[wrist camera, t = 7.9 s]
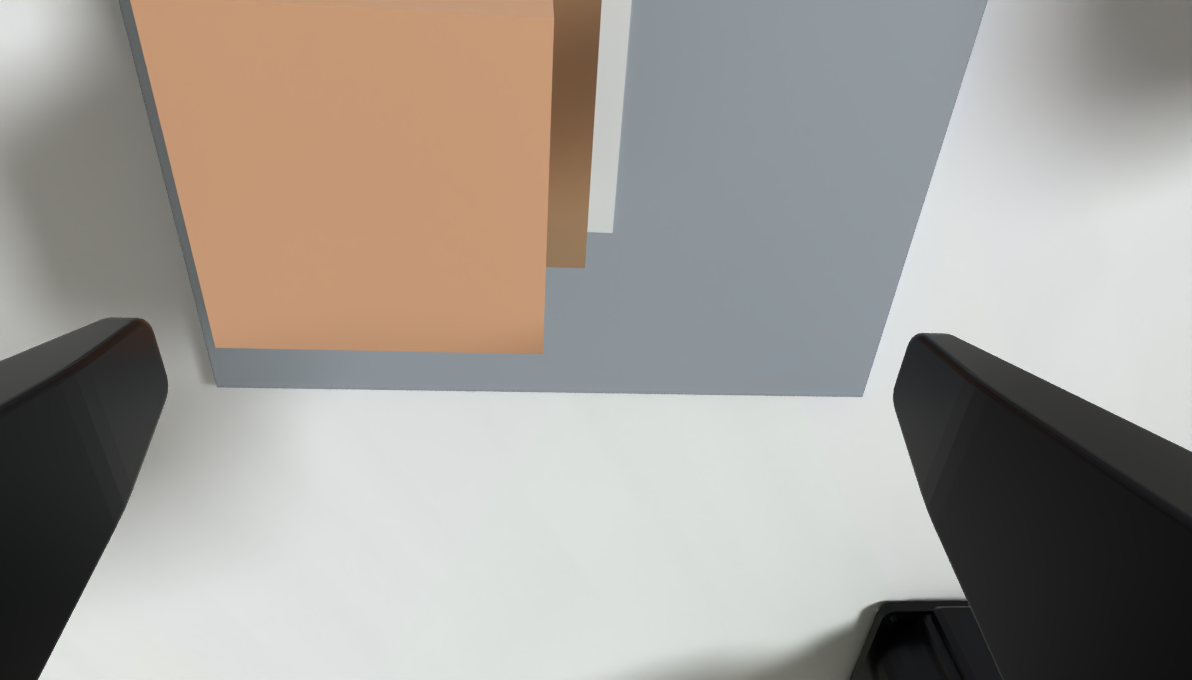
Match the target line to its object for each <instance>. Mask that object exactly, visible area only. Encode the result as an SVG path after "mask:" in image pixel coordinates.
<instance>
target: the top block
mask: <svg viewBox="0 0 1192 680" xmlns="http://www.w3.org/2000/svg"><path fill="white" fill-rule="evenodd" d="M130 2H131V6H132V10H133V14H134V18H135V22H136V26H137V30H138V34H139V38H140V42H141V46H142V51H143V55H144V59H145V63H146V67H147V71H148V75H149V79H150V83H151V87H152V91H153V95H154V99H155V103H156V107H157V112H158V116H159V120H160V124H161V128H162V132H163V136H164V140H165V144H166V148H167V152H168V156H169V160H170V164H171V168H172V173H173V177H174V181H175V185H176V189H177V193H178V197H179V201H180V205H181V209H182V213H183V217H184V221H185V225H186V230H187V234H188V238H189V242H190V246H191V250H192V254H193V258H194V262H195V266H196V270H197V274H198V278H199V282H200V286H201V291H202V295H203V299H204V303H205V307H206V311H207V315H208V319H209V323H210V327H211V331H212V335H213V339H214V343H215V347H216V348H252V349H301V350H351V351H401V352H451V353H501V354H543V343H544V312H545V282H546V251H547V221H548V191H549V160H550V130H551V99H552V69H553V39H554V9H553V0H130Z"/></svg>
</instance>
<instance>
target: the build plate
mask: <svg viewBox="0 0 1192 680" xmlns="http://www.w3.org/2000/svg"><path fill="white" fill-rule="evenodd" d="M987 1H988V0H602V5H601V21H600V37H599V53H598V69H597V85H596V101H595V117H594V133H593V149H592V164H591V180H590V196H589V212H588V228H587V244H586V260H585V268H558V267H546V282H545V312H544V343H543V354H501V353H451V352H401V351H351V350H301V349H252V348H216V347H215V343H214V339H213V335H212V331H211V327H210V323H209V319H208V315H207V311H206V307H205V303H204V299H203V295H202V291H201V286H200V282H199V278H198V274H197V270H196V266H195V262H194V258H193V254H192V250H191V246H190V242H189V238H188V234H187V230H186V225H185V221H184V217H183V213H182V209H181V205H180V201H179V197H178V193H177V189H176V185H175V181H174V177H173V173H172V168H171V164H170V160H169V156H168V152H167V148H166V144H165V140H164V136H163V132H162V128H161V124H160V120H159V116H158V112H157V107H156V103H155V99H154V95H153V91H152V87H151V83H150V79H149V75H148V71H147V67H146V63H145V59H144V55H143V51H142V46H141V42H140V38H139V34H138V30H137V26H136V22H135V18H134V14H133V10H132V6H131V2H130V0H119V3H120V7H121V11H122V15H123V19H124V23H125V27H126V31H127V35H128V39H129V43H130V47H131V51H132V55H133V58H134V62H135V66H136V70H137V74H138V78H139V82H140V86H141V90H142V94H143V98H144V102H145V106H146V110H147V113H148V117H149V121H150V125H151V129H152V133H153V137H154V141H155V145H156V149H157V153H158V157H159V161H160V165H161V169H162V172H163V176H164V180H165V184H166V188H167V192H168V196H169V200H170V204H171V208H172V212H173V216H174V220H175V224H176V228H177V231H178V235H179V239H180V243H181V247H182V251H183V255H184V259H185V263H186V267H187V271H188V275H189V279H190V283H191V287H192V290H193V294H194V298H195V302H196V306H197V310H198V314H199V318H200V322H201V326H202V330H203V334H204V338H205V342H206V346H207V349H208V353H209V357H210V361H211V365H212V369H213V373H214V377H215V381H216V385H217V387H237V388H303V389H369V390H435V391H501V392H568V393H634V394H700V395H766V396H832V397H862V396H863V393H864V390H865V387H866V384H867V380H868V377H869V374H870V371H871V368H872V365H873V361H874V358H875V355H876V352H877V349H878V346H879V342H880V339H881V336H882V333H883V330H884V327H885V324H886V320H887V317H888V314H889V311H890V308H891V305H892V301H893V298H894V295H895V292H896V289H897V286H898V282H899V279H900V276H901V273H902V270H903V267H904V263H905V260H906V257H907V254H908V251H909V248H910V244H911V241H912V238H913V235H914V232H915V229H916V225H917V222H918V219H919V216H920V213H921V210H922V207H923V203H924V200H925V197H926V194H927V191H928V188H929V184H930V181H931V178H932V175H933V172H934V169H935V165H936V162H937V159H938V156H939V153H940V150H941V146H942V143H943V140H944V137H945V134H946V131H947V127H948V124H949V121H950V118H951V115H952V112H953V108H954V105H955V102H956V99H957V96H958V93H959V90H960V86H961V83H962V80H963V77H964V74H965V71H966V67H967V64H968V61H969V58H970V55H971V52H972V48H973V45H974V42H975V39H976V36H977V33H978V29H979V26H980V23H981V20H982V17H983V14H984V10H985V7H986V4H987Z"/></svg>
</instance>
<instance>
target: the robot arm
mask: <svg viewBox="0 0 1192 680" xmlns="http://www.w3.org/2000/svg"><path fill="white" fill-rule="evenodd" d="M167 393H168V380H167V375H166V372H165V368H164V365H163V362H162V358H161V355H160V352H159V348H158V345H157V342H156V338H155V335H154V332H153V330H152V327H151V326H150V324H149V323H148V322H146V321H145V320H143V319H140V318H105V319H102V320H99V321H97V322H94V323H92V324H89V325H87V326H85V327H82V328H80V329H77V330H75V331H72V332H70V333H68V334H65V335H63V336H60V337H58V338H55V339H53V340H51V341H48V342H46V343H43V344H41V345H38V346H36V347H34V348H31V349H29V350H26V351H24V352H21V353H19V354H17V355H14V356H12V357H9V358H7V359H4V360H2V361H0V680H38V678H39V677H40V675H41V673H42V671H43V669H44V667H45V665H46V663H47V661H48V659H49V657H50V655H51V653H52V651H53V649H54V647H55V645H56V643H57V641H58V639H59V638H60V636H61V634H62V632H63V630H64V628H65V626H66V624H67V622H68V620H69V618H70V616H71V614H72V612H73V610H74V608H75V606H76V604H77V602H78V601H79V599H80V597H81V595H82V593H83V591H84V589H85V587H86V585H87V583H88V581H89V579H90V577H91V575H92V573H93V571H94V569H95V567H96V565H97V563H98V562H99V560H100V558H101V556H102V554H103V552H104V550H105V548H106V546H107V544H108V542H109V540H110V538H111V536H112V534H113V532H114V530H115V528H116V526H117V524H118V522H119V520H120V518H121V516H122V514H123V512H124V510H125V508H126V505H127V503H128V500H129V498H130V496H131V493H132V491H133V488H134V485H135V483H136V480H137V477H138V475H139V472H140V469H141V466H142V464H143V461H144V458H145V456H146V453H147V450H148V447H149V445H150V442H151V439H152V437H153V434H154V431H155V428H156V426H157V423H158V420H159V418H160V415H161V412H162V409H163V407H164V404H165V401H166V398H167ZM893 402H894V408H895V411H896V415H897V418H898V421H899V424H900V427H901V430H902V434H903V437H904V440H905V443H906V446H907V450H908V453H909V456H910V459H911V462H912V465H913V469H914V472H915V475H916V478H917V481H918V485H919V488H920V491H921V494H922V497H923V500H924V502H925V505H926V508H927V511H928V513H929V515H930V518H931V520H932V523H933V525H934V527H935V530H936V532H937V534H938V536H939V539H940V541H941V543H942V545H943V548H944V550H945V552H946V554H947V556H948V559H949V561H950V563H951V565H952V568H953V570H954V572H955V574H956V577H957V579H958V581H959V583H960V585H961V588H962V590H963V592H964V594H965V597H966V599H967V601H968V602H953V603H890V604H886V605H884V606H882V607H881V608H880V609H879V611H878V613H877V615H876V618H875V620H874V623H873V625H872V628H871V630H870V632H869V635H868V637H867V640H866V642H865V645H864V647H863V650H862V652H861V654H860V657H859V659H858V662H857V664H856V667H855V669H854V672H853V674H852V677H851V679H850V680H1192V452H1191V451H1189V450H1187V449H1185V448H1183V447H1181V446H1179V445H1177V444H1175V443H1173V442H1170V441H1168V440H1166V439H1164V438H1162V437H1160V436H1158V435H1156V434H1154V433H1152V432H1150V431H1148V430H1146V429H1144V428H1142V427H1140V426H1138V425H1136V424H1134V423H1131V422H1129V421H1127V420H1125V419H1123V418H1121V417H1119V416H1117V415H1115V414H1113V413H1111V412H1109V411H1107V410H1105V409H1103V408H1101V407H1099V406H1097V405H1095V404H1092V403H1090V402H1088V401H1086V400H1084V399H1082V398H1080V397H1078V396H1076V395H1074V394H1072V393H1070V392H1068V391H1066V390H1064V389H1062V388H1060V387H1058V386H1056V385H1053V384H1051V383H1049V382H1047V381H1045V380H1043V379H1041V378H1039V377H1037V376H1035V375H1033V374H1031V373H1029V372H1027V371H1025V370H1023V369H1021V368H1019V367H1017V366H1014V365H1012V364H1010V363H1008V362H1006V361H1004V360H1002V359H1000V358H998V357H996V356H994V355H992V354H990V353H988V352H986V351H984V350H982V349H980V348H978V347H975V346H973V345H971V344H969V343H967V342H965V341H963V340H961V339H959V338H957V337H955V336H953V335H950V334H945V333H919V334H917V335H915V336H914V337H912V339H911V340H910V342H909V344H908V346H907V350H906V353H905V356H904V359H903V362H902V365H901V368H900V371H899V374H898V377H897V380H896V384H895V387H894V393H893Z"/></svg>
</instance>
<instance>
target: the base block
mask: <svg viewBox="0 0 1192 680" xmlns="http://www.w3.org/2000/svg"><path fill="white" fill-rule="evenodd" d="M601 5H602V0H553V9H554V39H553V69H552V99H551V130H550V160H549V191H548V221H547V251H546V267H558V268H585V260H586V244H587V228H588V212H589V196H590V180H591V164H592V149H593V133H594V117H595V101H596V85H597V69H598V53H599V37H600V21H601Z"/></svg>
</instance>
